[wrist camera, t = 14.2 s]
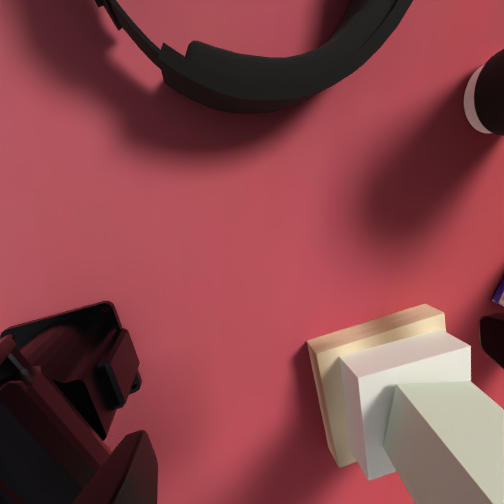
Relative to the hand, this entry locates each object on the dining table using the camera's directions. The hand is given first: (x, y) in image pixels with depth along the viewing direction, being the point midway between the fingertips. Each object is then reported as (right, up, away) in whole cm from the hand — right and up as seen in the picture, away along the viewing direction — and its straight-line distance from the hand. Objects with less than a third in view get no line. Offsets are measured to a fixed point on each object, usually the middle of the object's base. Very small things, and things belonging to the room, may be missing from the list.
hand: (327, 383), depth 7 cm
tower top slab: (+9, -7, +15) cm, 18 cm away
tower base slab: (+8, -7, +17) cm, 20 cm away
